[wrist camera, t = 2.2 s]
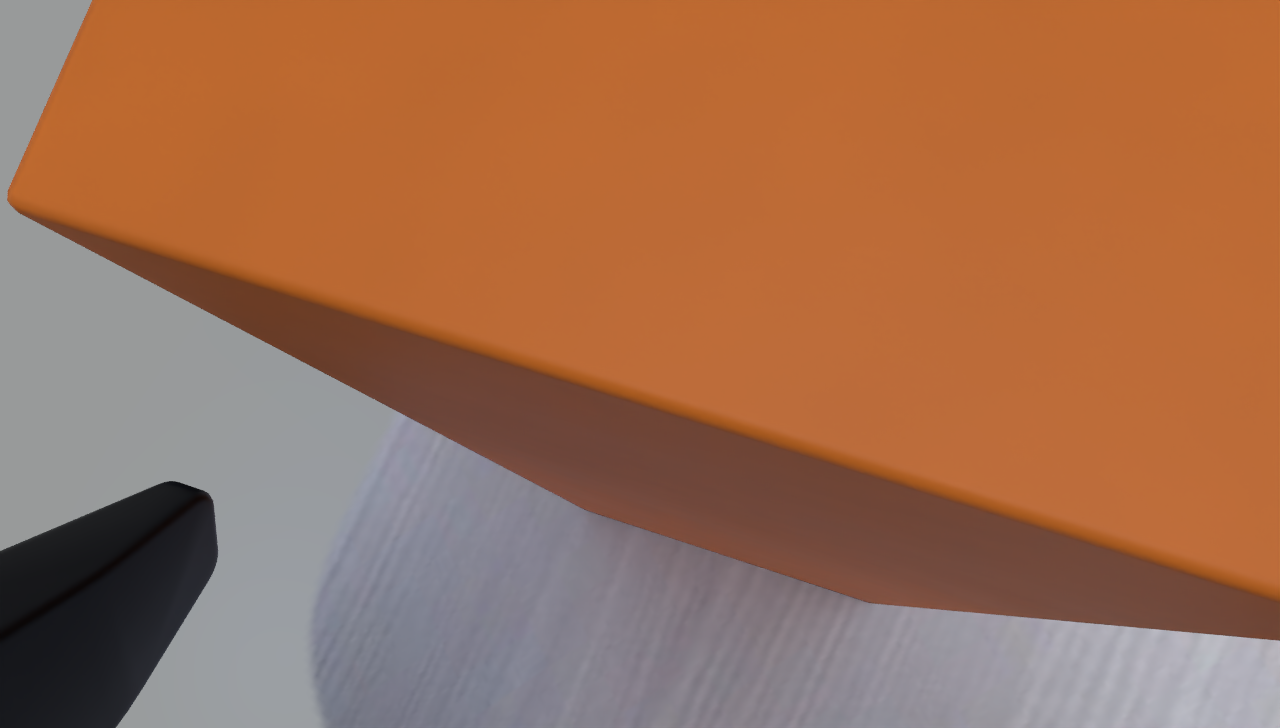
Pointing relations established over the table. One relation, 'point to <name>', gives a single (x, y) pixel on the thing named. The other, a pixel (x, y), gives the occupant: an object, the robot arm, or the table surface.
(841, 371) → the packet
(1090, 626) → the table surface
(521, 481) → the table surface
